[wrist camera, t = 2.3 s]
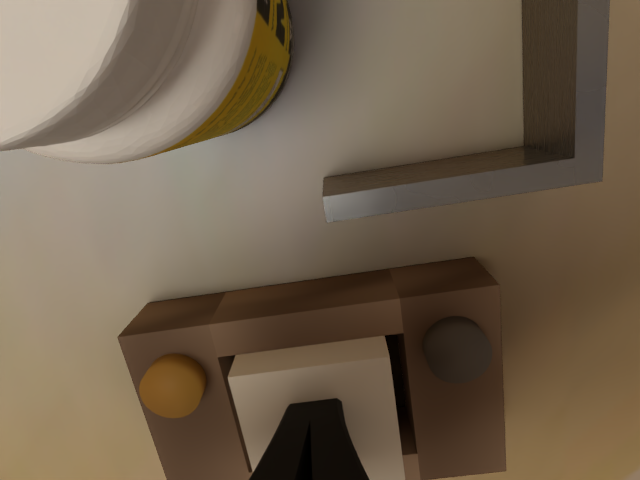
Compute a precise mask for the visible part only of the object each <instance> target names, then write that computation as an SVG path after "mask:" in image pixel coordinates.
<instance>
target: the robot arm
mask: <svg viewBox="0 0 640 480" xmlns="http://www.w3.org/2000/svg"><path fill="white" fill-rule="evenodd" d="M249 480H370V479H369V477H368V476H367V474H366V472H365V470H364V467H363V465H362V463H361V461H360V459H359V457H358V454H357V452H356V450H355V447H354V445H353V443H352V440H351V438H350V435H349V432H348V429H347V426H346V423H345V417H344V412H343V406H342V401H340V400H339V399H338V398H333V399H325V400H317V401H309V402H301V403H293V404H290V405H289V406H288V407H287V408H286V410H285V413H284V415H283V417H282V419H281V421H280V423H279V425H278V428H277V430H276V432H275V433H274V435H273V437H272V439H271V441H270V443H269V445H268V447H267V449H266V450H265V452H264V454H263V456H262V458H261V459H260V461H259V463H258V465H257V467H256V468H255V470H254V472H253V473H252V475H251V477H250V478H249Z"/></svg>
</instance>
